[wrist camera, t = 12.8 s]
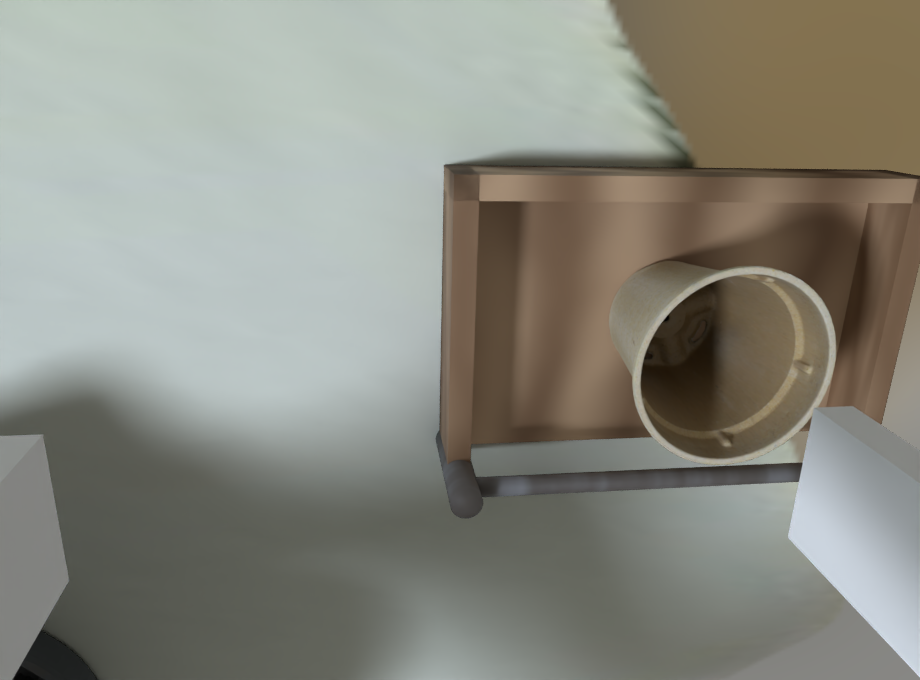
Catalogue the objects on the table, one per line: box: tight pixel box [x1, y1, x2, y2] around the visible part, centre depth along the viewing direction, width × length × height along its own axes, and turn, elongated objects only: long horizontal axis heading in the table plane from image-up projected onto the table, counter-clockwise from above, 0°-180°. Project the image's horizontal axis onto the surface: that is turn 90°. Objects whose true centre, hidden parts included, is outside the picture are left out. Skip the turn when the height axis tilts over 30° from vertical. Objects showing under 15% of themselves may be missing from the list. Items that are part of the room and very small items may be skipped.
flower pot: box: [609, 261, 836, 465], centre depth 37 cm, size 9×9×9 cm
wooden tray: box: [436, 165, 920, 518], centre depth 38 cm, size 25×16×7 cm, turn 89°
